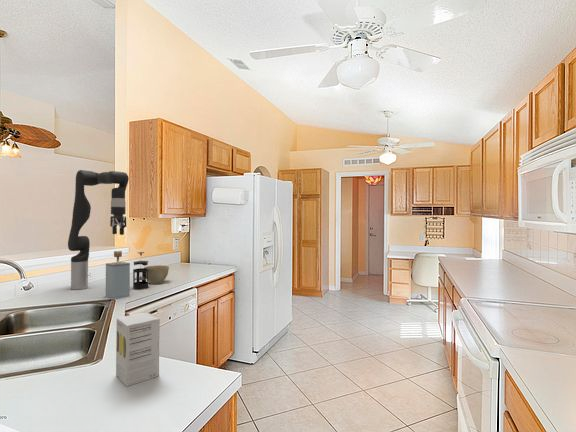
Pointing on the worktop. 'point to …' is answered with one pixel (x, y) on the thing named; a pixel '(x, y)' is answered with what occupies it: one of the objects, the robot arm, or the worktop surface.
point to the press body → (117, 280)
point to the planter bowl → (157, 274)
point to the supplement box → (137, 348)
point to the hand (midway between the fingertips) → (118, 234)
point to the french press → (143, 283)
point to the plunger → (117, 255)
